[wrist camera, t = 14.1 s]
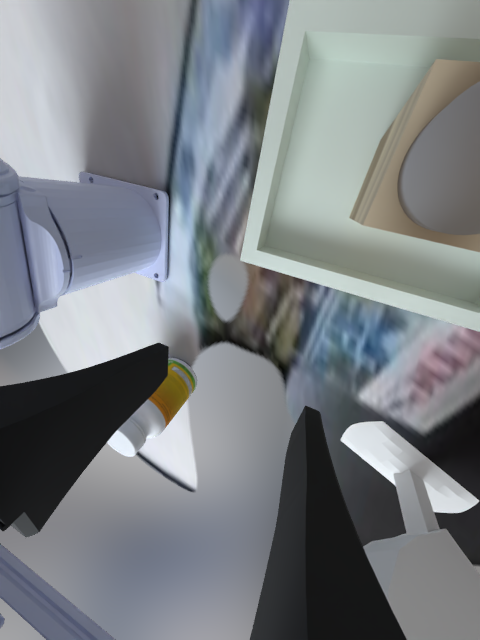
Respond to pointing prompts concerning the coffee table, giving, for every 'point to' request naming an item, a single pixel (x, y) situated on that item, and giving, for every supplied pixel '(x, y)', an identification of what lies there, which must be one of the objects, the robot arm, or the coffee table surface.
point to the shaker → (430, 162)
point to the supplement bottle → (156, 409)
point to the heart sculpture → (420, 541)
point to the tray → (355, 152)
